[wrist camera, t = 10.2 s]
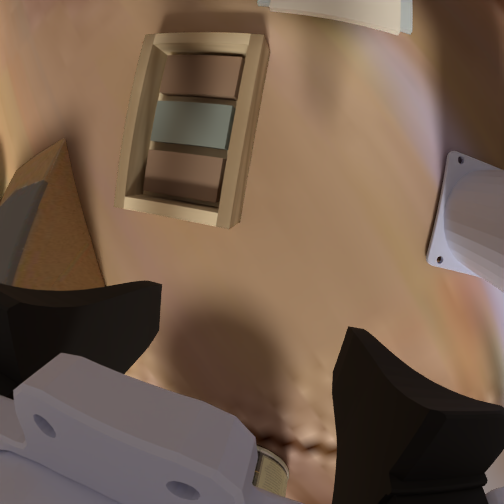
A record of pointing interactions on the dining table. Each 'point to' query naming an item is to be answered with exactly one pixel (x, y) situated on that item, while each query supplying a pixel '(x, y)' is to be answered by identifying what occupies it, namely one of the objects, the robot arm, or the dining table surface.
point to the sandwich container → (46, 228)
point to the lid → (347, 11)
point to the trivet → (404, 22)
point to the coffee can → (270, 472)
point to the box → (192, 126)
